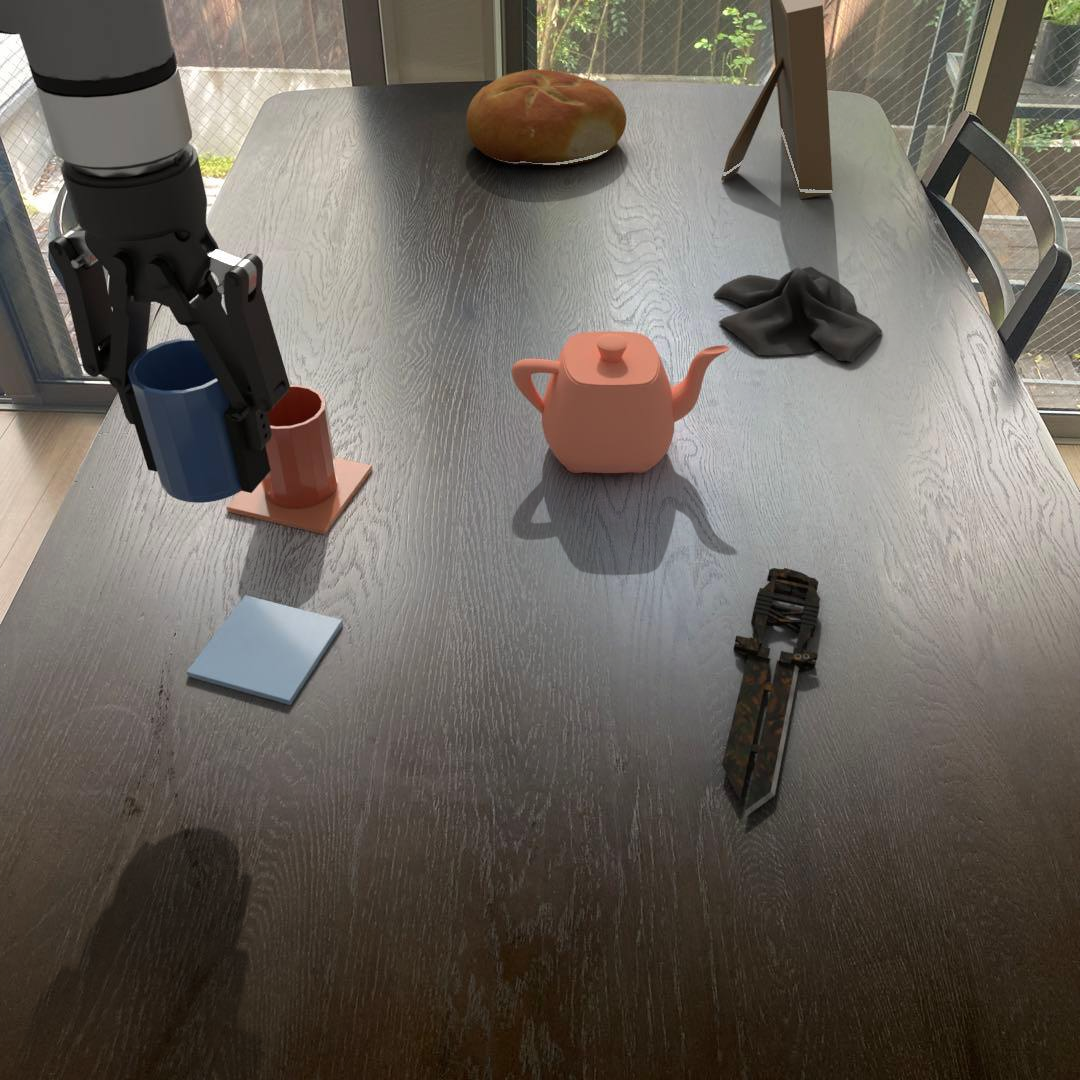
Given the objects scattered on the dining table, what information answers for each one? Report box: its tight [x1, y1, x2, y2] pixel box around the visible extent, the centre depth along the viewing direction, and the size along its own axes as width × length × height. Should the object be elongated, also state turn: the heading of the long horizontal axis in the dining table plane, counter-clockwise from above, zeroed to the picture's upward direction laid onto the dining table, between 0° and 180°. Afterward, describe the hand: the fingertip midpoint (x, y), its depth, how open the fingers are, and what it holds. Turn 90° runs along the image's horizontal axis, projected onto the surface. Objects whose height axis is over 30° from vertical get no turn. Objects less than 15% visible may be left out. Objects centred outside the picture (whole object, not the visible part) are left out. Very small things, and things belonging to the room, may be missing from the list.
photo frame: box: [720, 0, 834, 200], centre depth 149 cm, size 15×22×25 cm
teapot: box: [511, 330, 730, 474], centre depth 103 cm, size 13×20×12 cm, turn 90°
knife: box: [721, 567, 821, 819], centre depth 83 cm, size 25×6×1 cm, turn 157°
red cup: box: [261, 384, 338, 509], centre depth 98 cm, size 7×7×9 cm
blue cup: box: [128, 337, 242, 504], centre depth 74 cm, size 7×7×9 cm
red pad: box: [226, 457, 374, 536], centre depth 101 cm, size 10×10×1 cm
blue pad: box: [186, 594, 344, 706], centre depth 86 cm, size 9×9×1 cm
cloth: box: [712, 266, 883, 363], centre depth 124 cm, size 22×19×6 cm
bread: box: [465, 69, 627, 167], centre depth 160 cm, size 23×23×10 cm
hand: (209, 469), depth 77 cm, fingers closed on blue cup, 7 cm apart
